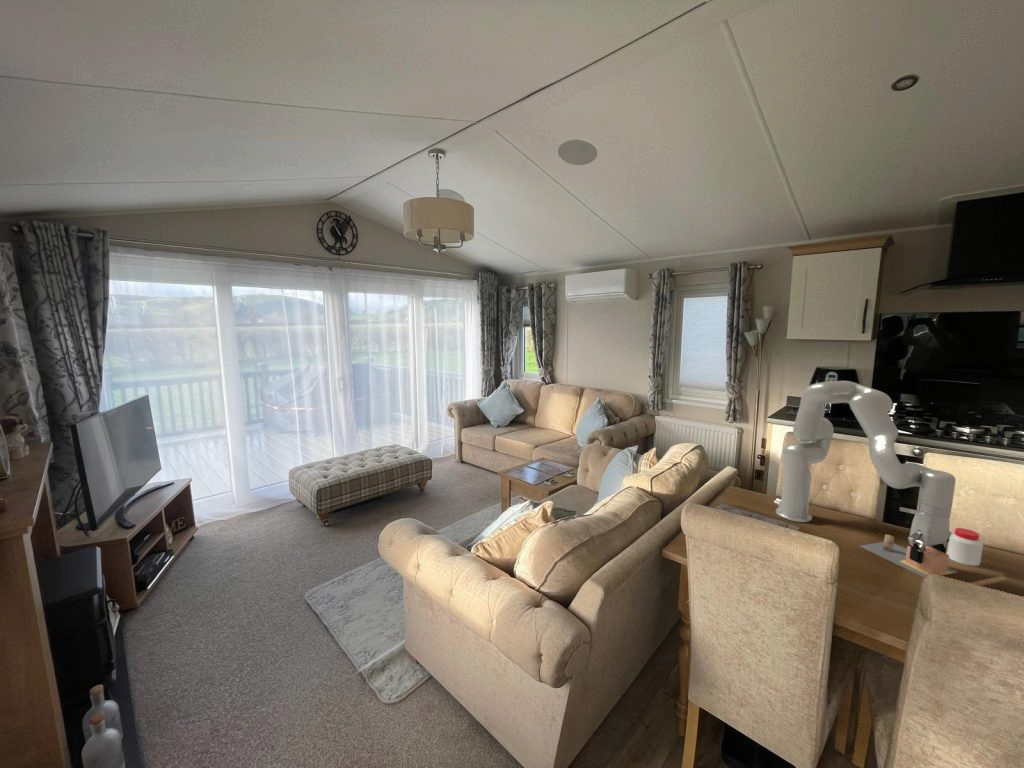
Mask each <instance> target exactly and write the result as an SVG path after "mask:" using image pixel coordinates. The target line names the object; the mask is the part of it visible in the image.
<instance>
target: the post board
mask: <svg viewBox="0 0 1024 768" xmlns="http://www.w3.org/2000/svg"><path fill="white" fill-rule="evenodd" d="M859 547H860V548H862V549H865V550H867V551H869V552H870V553H873V554H875V555H876V556H879V557H881V558H883V559H885V560H887V561H890V562H892V563H894V564H895V565H897V566H900V567H902V568H904V569H905V570H908V571H910V572H913V573H914V574H915V575H918V576H921V578H924V577H925V576H926V574H928V573H927V572H925V571H923V570H921V569H918V568H916V567H914V566H912V565H910V564H908V563H906V562H905V559H906V552H907V548H906V547H903V546H900V545H899V544H897V543H895V536H893V535H890V534H884V539H883V541H880V542H875V543H868V544H863V545H859ZM922 552H925V553H927V554H929V555H933V554H932V553H931V552H928V551H922ZM956 573H958V571H957V570H955V569H952V568H950V567H948V566H947V571H945V572H940V573H935V574H940V575H942V576H945V575H952V574H956Z"/></svg>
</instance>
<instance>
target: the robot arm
mask: <svg viewBox="0 0 1024 768" xmlns="http://www.w3.org/2000/svg"><path fill="white" fill-rule="evenodd" d="M843 403H846V404H848V405H849V407H850V410H851V411H852V413H853V414H854V416H855V418H856V420H857V422H858V423H859V425H860V427H861V429H862V430H863V432H864V434H865V435H866V437H867V438H868V449H869V456H870V460H871V463H872V464H873V467H874V469H875V470H876V472H877V473H878V476H879V477H880V478H881V480H882V481H883V482H884V483H885V484H886V485H887V486H889V487H891V488H893V489H897V490H898V489H899V490H903V489H908V488H912V487H919V491H918V497H917V498H918V499H917V506H916V511H915V514H914V516H913V519H912V523H911V527H910V532H909V536H908V537H907V540H908V546H910V548H911V550H910V557H909V558H910V559H911V560H913V561H915V562H917V563H920V564H921V563H922V562H923V555H924V552H922V551H923V549H924V548H925V546H929V547H930V546H932V547H931V548H933V549H936V550H938V551H941V552H943V553H945V554H946V553H947V547H948V542H949V538H950V536H951V534H952V532H951V531H950V519H951V516H952V515H951V514H952V507H953V501H954V496H955V495H954V494H955V487H956V477H955V476H954V475H953V474H952V473H951V472H950V473H949V472H946V471H943V470H939V469H932V468H929V467H927V466H924V465H921V464H918V463H914V462H905V463H901V462H900V460H899V458H898V456H897V454H896V452H895V442H896V441H897V440H896V439H897V438H898V435H899V430H898V428H897V426H896V424H895V423H894V421H893V420H892V417H890V415H889V413H888V412H890V411H891V409H892V408H893V401H892V398H891V397H890V396H889V395H888V394H887V393H885V392H883V391H881V390H878V389H874V388H873V387H868V386H865V385H862V384H859V383H857V382H854V381H851V380H850V381H849V380H834V381H832V380H831V381H822V382H815V383H812V384H810V385H808V386H807V387H805V389H804V390H803V392H802V395H801V397H800V403H799V407H798V410H797V414H796V417H795V421H794V424H793V428H792V434H793V437H794V438H795V439H796V440H798V441H797V442H793V443H790V444H787V445H786V446H785V447H784V449H783V451H782V460H783V461H782V462H783V473H782V474H783V475H782V489H781V497H780V498H779V497H778V498H776V499H775V500H774V501H773V503H774V504H775V505H778V507H776V508H775V509H776V510H775V514H777V516H778V517H781V518H783V519H786V520H788V521H792V522H797V523H809V522H811V521H812V519H813V516H812V515H811V514H810V513H809V504H810V494H811V482H812V473H811V471H810V465H814V464H819V463H822V462H823V461H824V460H825V459H826V457H827V456H828V453H829V450H830V446H831V442H832V440H833V437H834V431H835V430H834V425H833V423H832V422H831V421H830V420H829V419H828V418H826V417H824V416H825V413H826V408H825V407H826V406H825V405H828V404H829V405H830V404H843ZM920 544H921V545H920ZM918 545H920V547H919V546H918Z"/></svg>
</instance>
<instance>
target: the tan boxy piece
mask: <svg viewBox="0 0 1024 768" xmlns="http://www.w3.org/2000/svg"><path fill="white" fill-rule="evenodd" d="M917 545H918V546H919V547H920V545H921V544H917ZM906 549H907V552H906V559H905V562H906V563H908V564H910V565H912V566H914V567H916V568H918V569H921V570H923V571H925V572H927V573H940V572H945V571H947V567H948V565H949V559H950V558H949V555H948V554H946V552H945V553H943V552H941V551H938V550H936V549H933V548H932V547H930V546H925V548H924V549H923V551H928V552H931V553H932V554H933V555H929V554H927V553H925V552H924V555H923V562H922V563H921V564H920V563H917V562H915V561H913V560H911V559H910V558H909V557H910V550H911V548H910V545H907V547H906Z"/></svg>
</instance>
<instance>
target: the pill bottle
mask: <svg viewBox="0 0 1024 768" xmlns="http://www.w3.org/2000/svg"><path fill="white" fill-rule="evenodd" d="M951 533H952V532H951ZM947 545H948V546H947V547H946V552H945V554H948V555H949V559H951V560H952V561H955V562H957V563H958V564H959V563H960V564H962V565H963V564H964V565H967V566H975V567H977V566H980V565H981V561H982V556H983V554H982V553H983V550H984V549H983V548H984V542H983V541H982V540H981V539H980V534H979V533H978V532H976V531H974V530H972V529H967V528H962V527H956V528H955V529H954V532H953V533H952V534H951V536H950V538H949V542H948V543H947Z"/></svg>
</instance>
